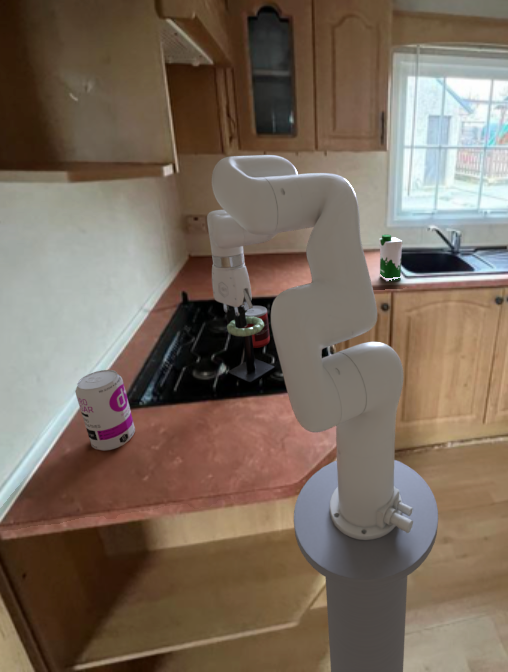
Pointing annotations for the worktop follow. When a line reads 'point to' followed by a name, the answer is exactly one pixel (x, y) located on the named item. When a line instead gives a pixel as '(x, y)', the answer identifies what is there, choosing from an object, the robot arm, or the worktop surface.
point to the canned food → (263, 336)
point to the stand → (250, 366)
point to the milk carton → (390, 257)
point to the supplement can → (105, 409)
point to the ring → (246, 331)
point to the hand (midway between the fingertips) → (237, 325)
